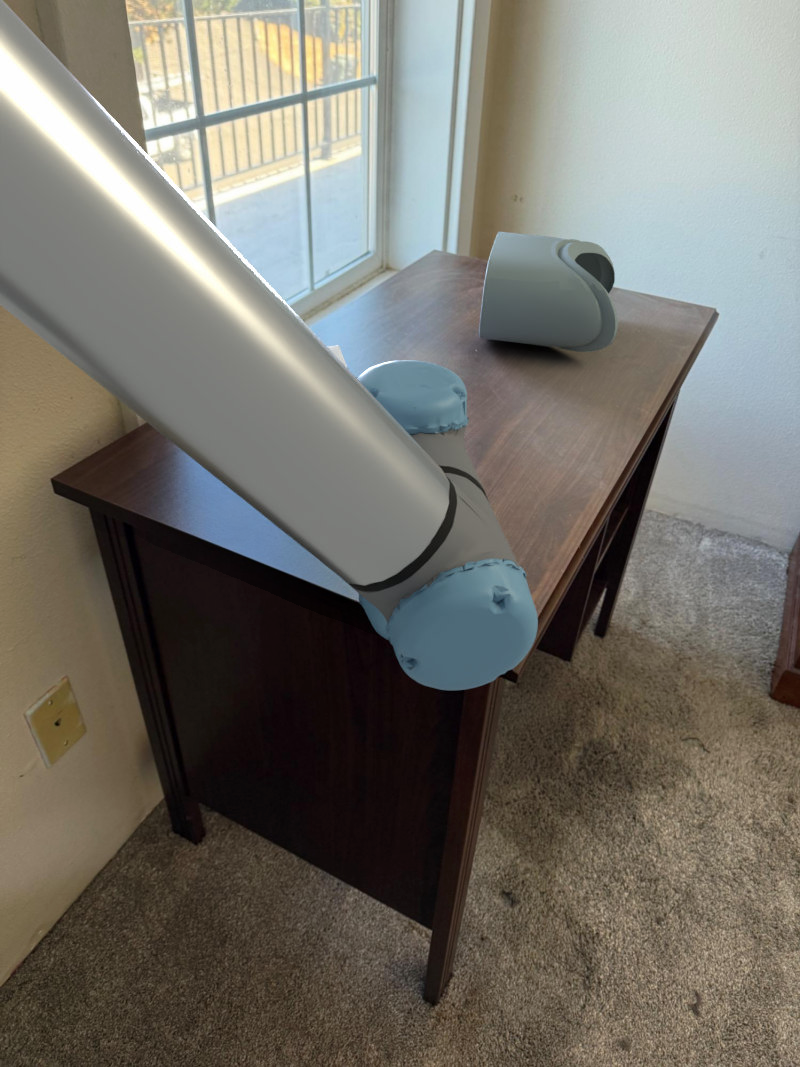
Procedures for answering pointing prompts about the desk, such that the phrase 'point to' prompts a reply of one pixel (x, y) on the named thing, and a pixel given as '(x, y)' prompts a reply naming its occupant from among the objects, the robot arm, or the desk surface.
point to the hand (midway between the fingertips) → (313, 373)
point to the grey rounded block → (548, 293)
